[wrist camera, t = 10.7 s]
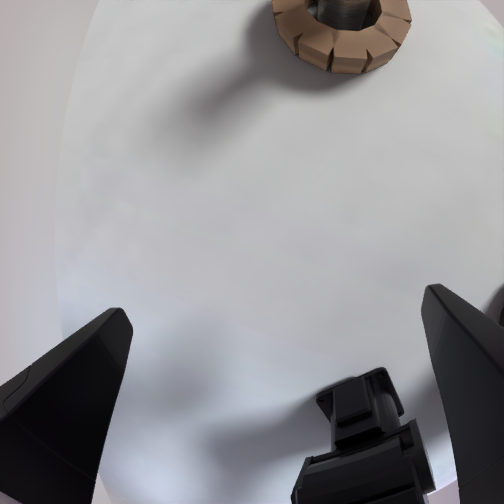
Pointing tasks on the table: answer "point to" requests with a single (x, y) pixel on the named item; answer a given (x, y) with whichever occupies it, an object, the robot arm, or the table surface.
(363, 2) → the purple capped tube
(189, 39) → the table surface
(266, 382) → the table surface
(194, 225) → the table surface
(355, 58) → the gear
